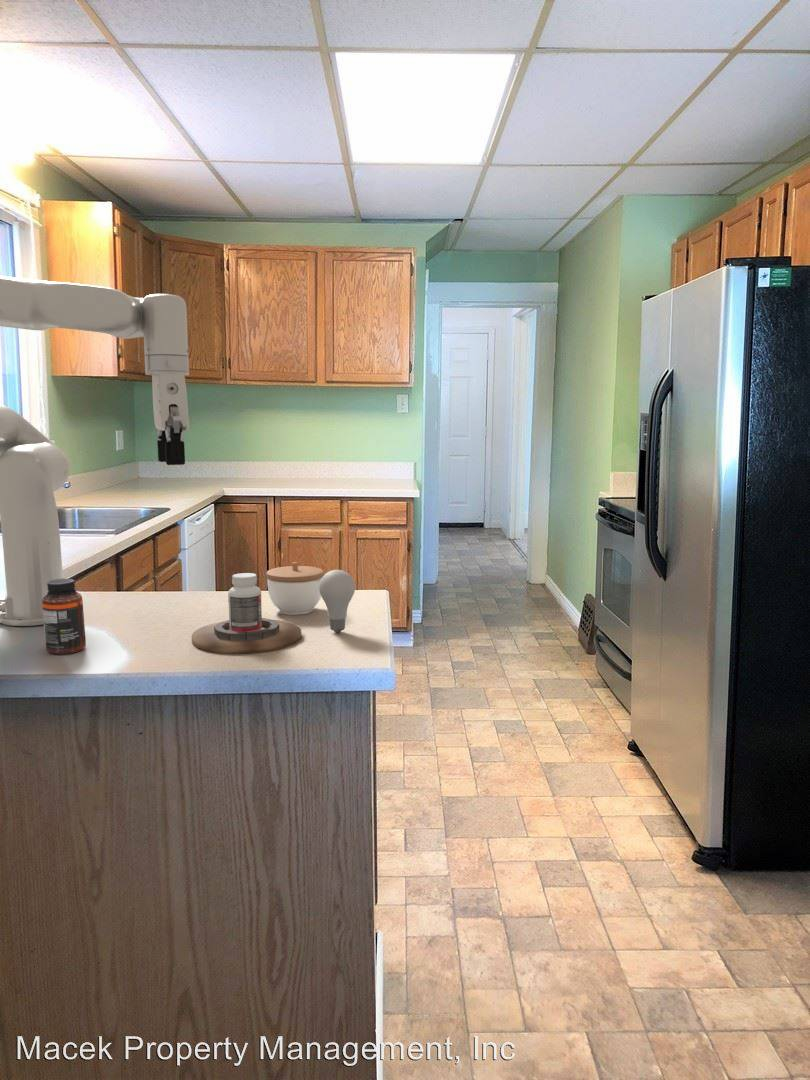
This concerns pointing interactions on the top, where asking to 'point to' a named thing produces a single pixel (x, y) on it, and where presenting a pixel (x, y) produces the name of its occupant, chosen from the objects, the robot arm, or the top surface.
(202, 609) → the top surface
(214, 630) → the brown disc with ring
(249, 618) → the pill bottle
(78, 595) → the supplement bottle
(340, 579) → the lightbulb
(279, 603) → the lidded jar
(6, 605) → the robot arm
